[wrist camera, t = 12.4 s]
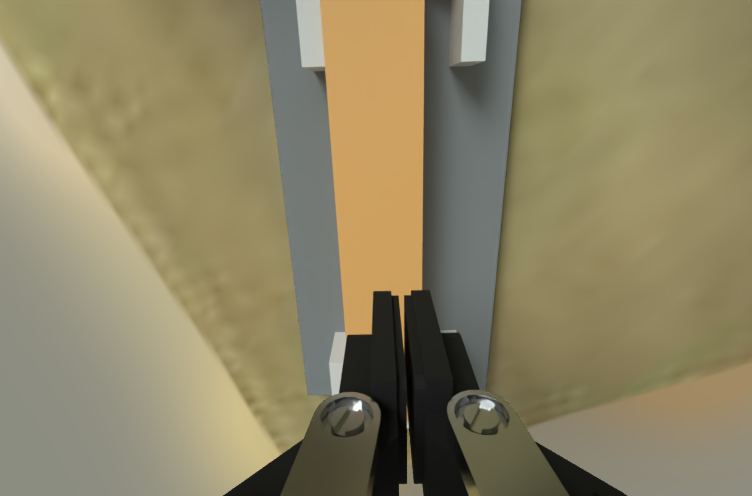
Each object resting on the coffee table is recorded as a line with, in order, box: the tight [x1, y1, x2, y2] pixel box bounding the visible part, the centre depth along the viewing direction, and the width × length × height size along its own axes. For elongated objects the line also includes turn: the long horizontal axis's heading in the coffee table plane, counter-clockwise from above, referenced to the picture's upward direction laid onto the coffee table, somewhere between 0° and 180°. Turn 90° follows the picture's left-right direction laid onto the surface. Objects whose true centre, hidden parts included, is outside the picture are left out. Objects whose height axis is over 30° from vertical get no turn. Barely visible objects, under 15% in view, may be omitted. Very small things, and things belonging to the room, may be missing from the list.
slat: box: [320, 0, 425, 422], centre depth 20 cm, size 22×4×4 cm, turn 2°
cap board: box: [260, 0, 522, 428], centre depth 21 cm, size 25×12×4 cm, turn 2°
